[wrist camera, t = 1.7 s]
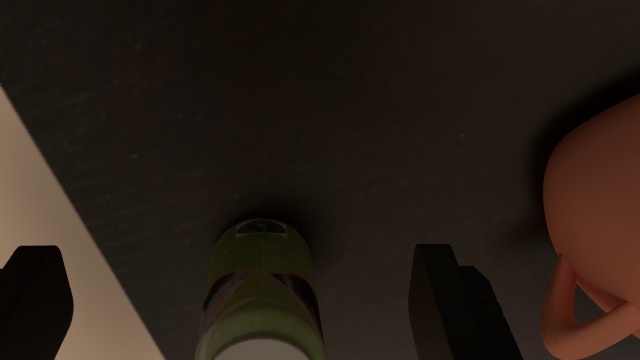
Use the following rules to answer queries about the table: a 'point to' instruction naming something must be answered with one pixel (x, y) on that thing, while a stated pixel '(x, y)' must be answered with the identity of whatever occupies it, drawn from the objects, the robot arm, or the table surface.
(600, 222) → the teapot
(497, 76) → the table surface
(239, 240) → the beverage can
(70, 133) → the table surface
